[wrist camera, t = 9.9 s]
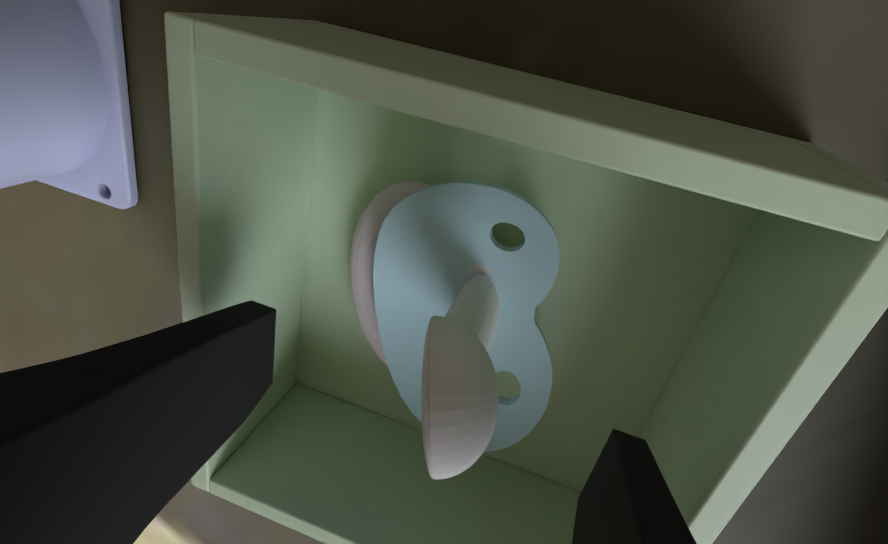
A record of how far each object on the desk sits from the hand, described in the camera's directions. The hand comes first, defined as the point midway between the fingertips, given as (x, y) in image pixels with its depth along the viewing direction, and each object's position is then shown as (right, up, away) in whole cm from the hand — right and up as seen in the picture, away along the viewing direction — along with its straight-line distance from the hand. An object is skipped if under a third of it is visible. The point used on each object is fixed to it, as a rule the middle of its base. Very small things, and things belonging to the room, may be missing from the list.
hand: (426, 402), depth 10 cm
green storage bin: (+2, +2, +5) cm, 5 cm away
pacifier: (+1, +2, +4) cm, 5 cm away
